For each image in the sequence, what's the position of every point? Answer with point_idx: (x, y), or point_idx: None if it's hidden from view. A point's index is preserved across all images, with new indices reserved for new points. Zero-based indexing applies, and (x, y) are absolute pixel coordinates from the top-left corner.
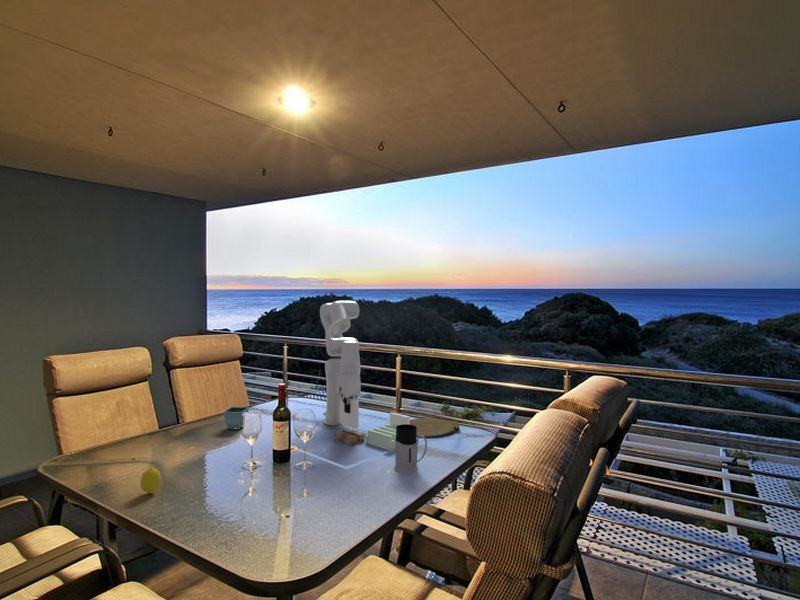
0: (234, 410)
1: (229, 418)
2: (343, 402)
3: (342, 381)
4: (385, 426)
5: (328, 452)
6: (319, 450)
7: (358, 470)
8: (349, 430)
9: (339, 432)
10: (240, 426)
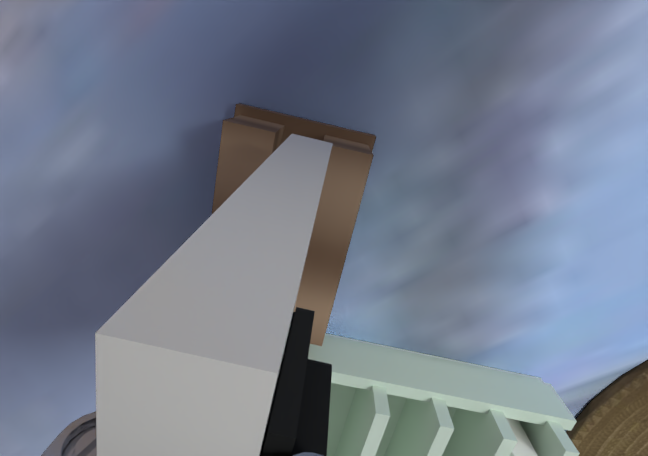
0: None
1: None
2: (70, 435)
3: None
4: (495, 428)
5: (60, 209)
6: (41, 134)
7: (12, 447)
8: (332, 209)
9: (239, 165)
10: None
